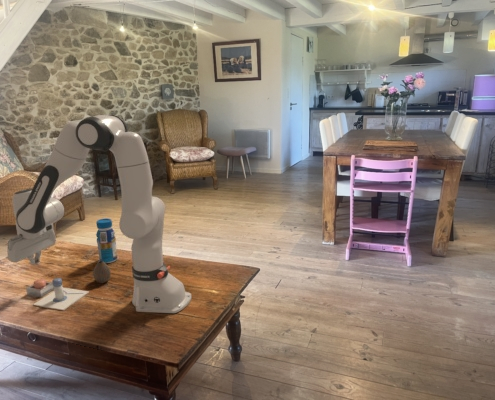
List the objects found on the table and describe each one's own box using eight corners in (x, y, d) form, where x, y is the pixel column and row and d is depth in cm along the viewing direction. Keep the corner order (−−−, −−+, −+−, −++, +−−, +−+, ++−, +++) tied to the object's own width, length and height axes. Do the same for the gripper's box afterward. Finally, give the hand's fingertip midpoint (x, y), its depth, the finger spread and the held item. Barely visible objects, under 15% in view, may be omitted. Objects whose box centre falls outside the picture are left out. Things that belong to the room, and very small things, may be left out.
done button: (49, 287, 157) (47, 279, 156) (40, 292, 153) (39, 284, 152) (40, 286, 158) (39, 278, 157) (32, 290, 154) (31, 283, 153)
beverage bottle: (95, 261, 184) (90, 221, 179) (110, 255, 191) (106, 216, 186) (106, 265, 180) (101, 224, 174) (121, 259, 186) (117, 219, 181)
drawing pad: (89, 292, 155) (89, 291, 155) (63, 310, 142) (63, 309, 142) (60, 287, 159) (60, 286, 159) (33, 305, 146) (33, 304, 146)
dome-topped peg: (66, 297, 151) (63, 278, 149) (60, 301, 148) (57, 282, 146) (59, 296, 152) (56, 277, 149) (53, 300, 149) (50, 281, 146)
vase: (105, 285, 161) (103, 266, 158) (90, 284, 162) (88, 264, 160) (114, 277, 167) (112, 259, 165) (100, 276, 169) (97, 258, 166)
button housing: (54, 289, 158) (53, 282, 157) (41, 297, 152) (40, 290, 151) (41, 286, 160) (39, 280, 159) (27, 295, 154) (26, 288, 153)
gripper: (13, 240, 139) (19, 276, 142) (56, 223, 157) (60, 254, 161) (0, 238, 140) (6, 273, 144) (43, 221, 159) (48, 252, 163)
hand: (35, 263), depth 153 cm, fingers closed
